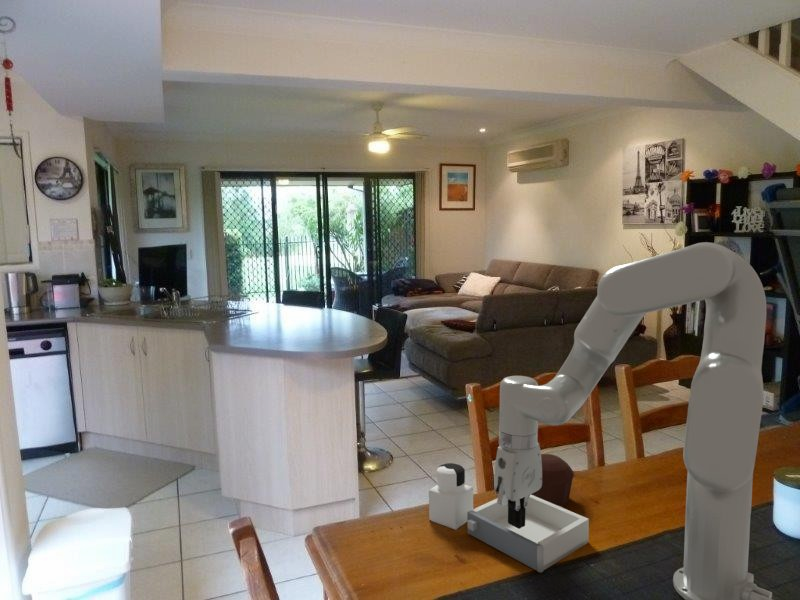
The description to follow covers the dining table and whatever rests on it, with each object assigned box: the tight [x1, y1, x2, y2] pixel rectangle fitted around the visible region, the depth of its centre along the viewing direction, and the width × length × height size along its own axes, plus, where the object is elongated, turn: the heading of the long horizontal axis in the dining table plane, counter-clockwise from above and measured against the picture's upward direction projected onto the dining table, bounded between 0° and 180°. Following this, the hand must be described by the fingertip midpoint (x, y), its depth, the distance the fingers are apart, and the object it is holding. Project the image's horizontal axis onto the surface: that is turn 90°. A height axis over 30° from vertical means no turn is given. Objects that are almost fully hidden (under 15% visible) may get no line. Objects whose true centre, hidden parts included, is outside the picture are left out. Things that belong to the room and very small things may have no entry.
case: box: [472, 494, 590, 571], centre depth 116 cm, size 18×15×5 cm
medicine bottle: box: [428, 462, 474, 531], centre depth 124 cm, size 7×7×12 cm
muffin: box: [531, 453, 575, 507], centre depth 133 cm, size 12×11×10 cm
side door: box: [467, 511, 545, 573], centre depth 110 cm, size 19×2×5 cm, turn 39°
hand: (516, 524), depth 115 cm, fingers closed
